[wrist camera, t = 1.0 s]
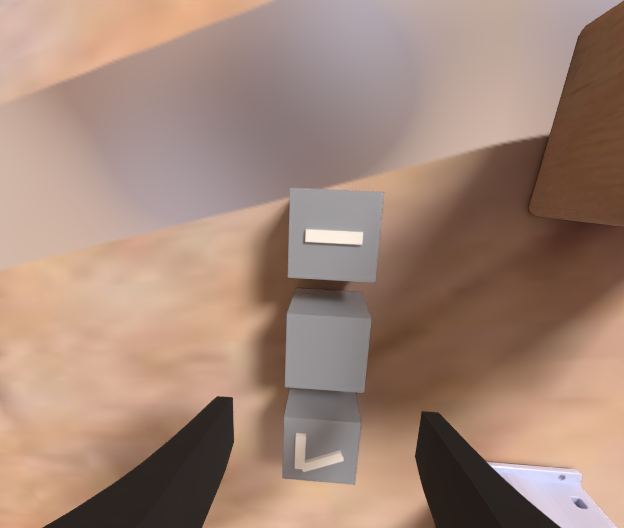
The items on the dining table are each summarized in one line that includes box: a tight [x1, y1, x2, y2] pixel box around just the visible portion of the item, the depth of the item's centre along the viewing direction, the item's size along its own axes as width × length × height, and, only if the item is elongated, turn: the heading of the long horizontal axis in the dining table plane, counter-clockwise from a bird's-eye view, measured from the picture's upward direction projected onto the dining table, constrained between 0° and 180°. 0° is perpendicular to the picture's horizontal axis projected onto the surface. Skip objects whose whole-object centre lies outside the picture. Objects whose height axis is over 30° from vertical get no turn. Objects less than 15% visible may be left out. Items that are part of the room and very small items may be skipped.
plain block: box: [285, 288, 372, 393], centre depth 18 cm, size 4×4×4 cm
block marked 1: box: [288, 188, 384, 283], centre depth 16 cm, size 4×4×5 cm
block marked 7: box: [282, 388, 361, 485], centre depth 19 cm, size 4×4×5 cm
